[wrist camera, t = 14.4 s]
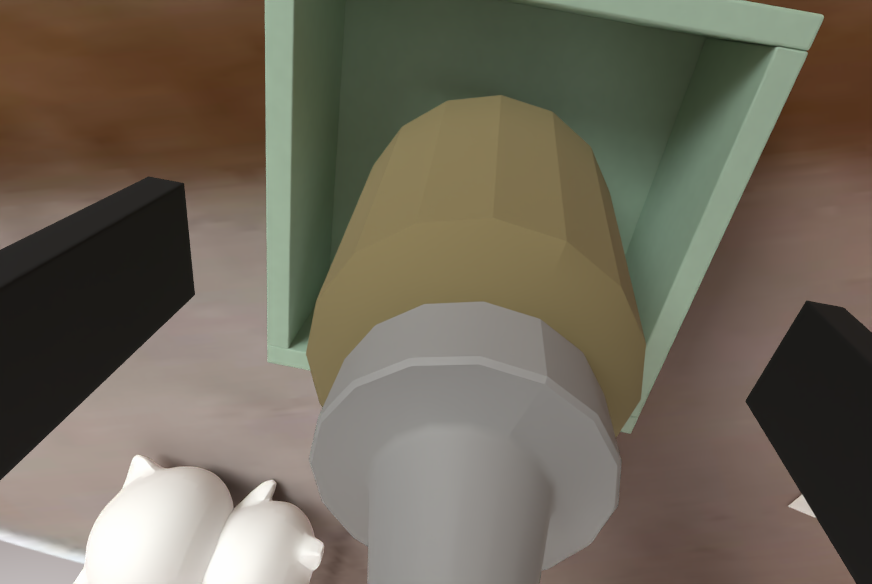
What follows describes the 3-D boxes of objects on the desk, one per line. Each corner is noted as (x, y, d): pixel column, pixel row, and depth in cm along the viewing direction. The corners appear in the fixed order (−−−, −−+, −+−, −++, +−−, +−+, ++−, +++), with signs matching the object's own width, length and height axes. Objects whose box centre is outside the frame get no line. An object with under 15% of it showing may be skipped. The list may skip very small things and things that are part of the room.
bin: (330, -58, 17) (263, -85, 12) (733, 14, 17) (827, 14, 12) (315, 290, 24) (266, 362, 19) (604, 346, 24) (631, 434, 19)
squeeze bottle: (470, 314, 23) (398, 977, 7) (343, 174, 20) (-182, 714, 5) (634, 207, 20) (1143, 966, 4) (508, 27, 17) (566, 180, 2)
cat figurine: (282, 693, 23) (9, 628, 22) (292, 650, 32) (101, 604, 31) (342, 490, 27) (114, 429, 26) (336, 504, 36) (168, 460, 36)
